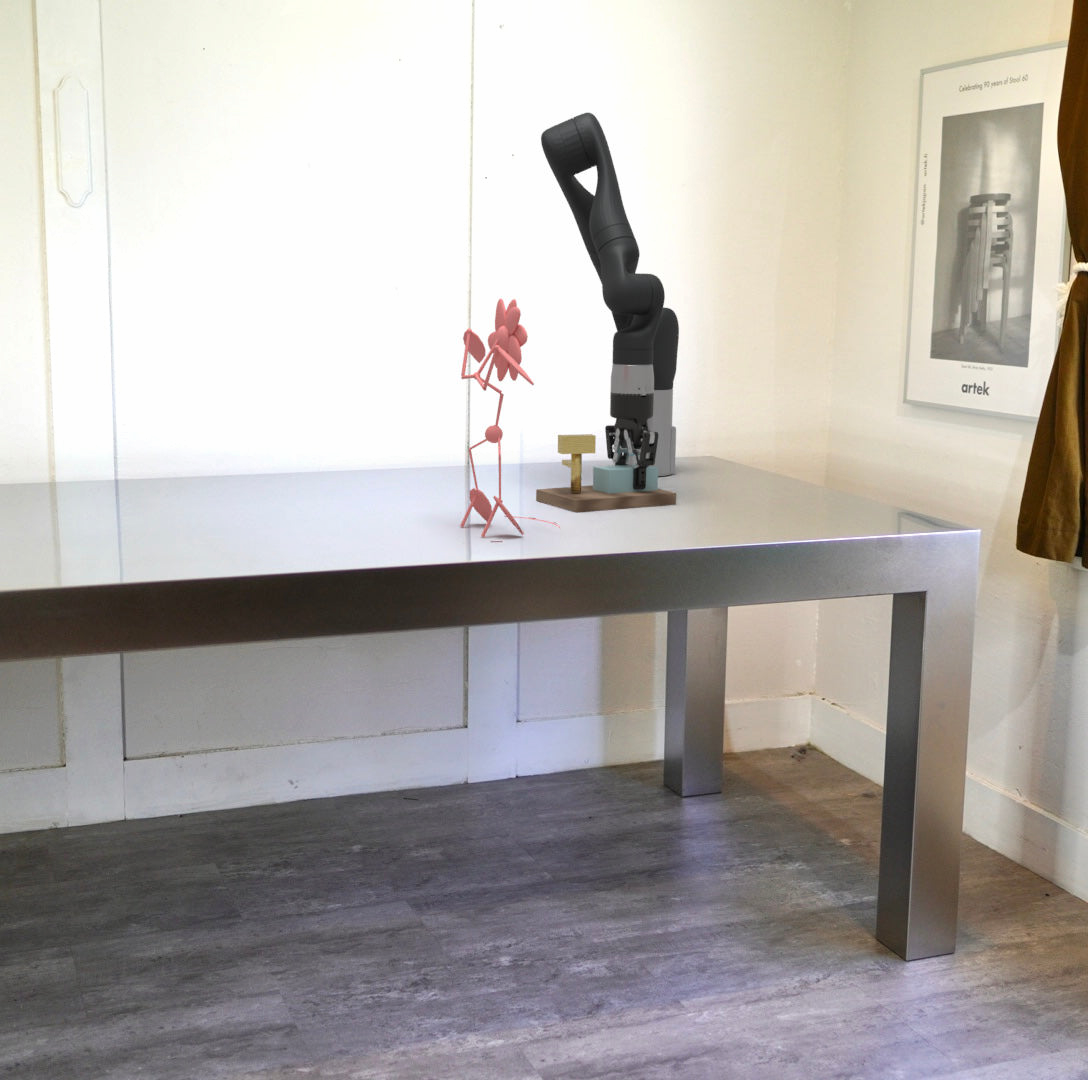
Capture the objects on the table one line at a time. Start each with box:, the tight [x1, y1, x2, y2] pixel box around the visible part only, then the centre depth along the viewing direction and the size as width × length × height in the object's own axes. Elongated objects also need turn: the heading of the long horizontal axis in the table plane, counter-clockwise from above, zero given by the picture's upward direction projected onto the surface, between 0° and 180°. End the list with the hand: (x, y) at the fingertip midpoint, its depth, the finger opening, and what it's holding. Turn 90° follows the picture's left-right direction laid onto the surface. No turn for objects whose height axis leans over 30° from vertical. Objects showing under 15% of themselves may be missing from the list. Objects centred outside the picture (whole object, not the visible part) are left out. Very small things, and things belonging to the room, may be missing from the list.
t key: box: [557, 433, 597, 493], centre depth 231 cm, size 7×6×10 cm
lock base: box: [535, 484, 677, 513], centre depth 233 cm, size 20×14×2 cm
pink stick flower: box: [459, 298, 561, 543], centre depth 202 cm, size 15×26×35 cm, turn 24°
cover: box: [592, 464, 659, 494], centre depth 234 cm, size 10×5×4 cm, turn 119°
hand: (630, 486), depth 235 cm, fingers closed on cover, 5 cm apart
